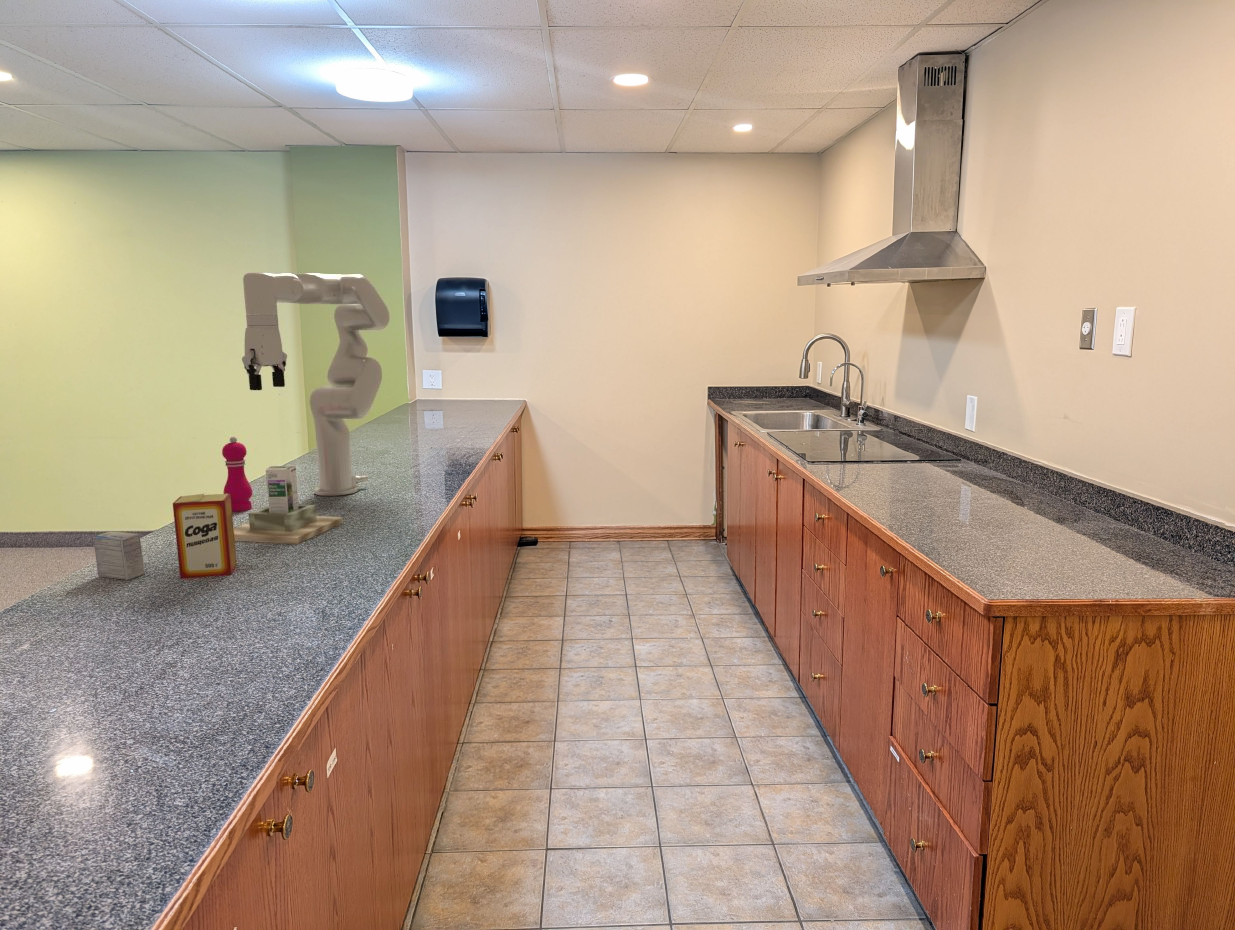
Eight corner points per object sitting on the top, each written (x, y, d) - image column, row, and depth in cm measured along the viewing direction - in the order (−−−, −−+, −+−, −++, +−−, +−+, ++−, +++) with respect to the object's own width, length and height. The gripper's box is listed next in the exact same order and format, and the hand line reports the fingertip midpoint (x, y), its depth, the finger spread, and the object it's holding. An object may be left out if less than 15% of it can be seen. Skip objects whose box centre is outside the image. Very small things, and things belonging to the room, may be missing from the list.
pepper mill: (258, 506, 231) (252, 434, 228) (244, 512, 224) (238, 438, 221) (234, 505, 232) (227, 434, 228) (219, 511, 225) (212, 438, 221)
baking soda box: (236, 565, 177) (230, 491, 174) (231, 574, 171) (224, 498, 168) (187, 569, 175) (180, 494, 172) (180, 578, 168) (172, 501, 165)
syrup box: (269, 528, 202) (264, 469, 199) (276, 522, 207) (272, 464, 205) (293, 527, 202) (289, 468, 200) (300, 521, 208) (296, 464, 205)
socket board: (273, 519, 216) (271, 498, 215) (342, 523, 212) (341, 501, 211) (221, 539, 197) (219, 516, 196) (297, 544, 193) (295, 521, 192)
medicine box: (145, 574, 171) (141, 533, 170) (126, 581, 167) (121, 539, 166) (116, 570, 174) (111, 530, 172) (97, 577, 170) (92, 535, 168)
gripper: (270, 321, 224) (275, 385, 227) (227, 322, 207) (233, 391, 210) (295, 321, 222) (299, 385, 225) (254, 322, 206) (259, 391, 209)
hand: (267, 388), depth 218 cm, fingers open, 9 cm apart
